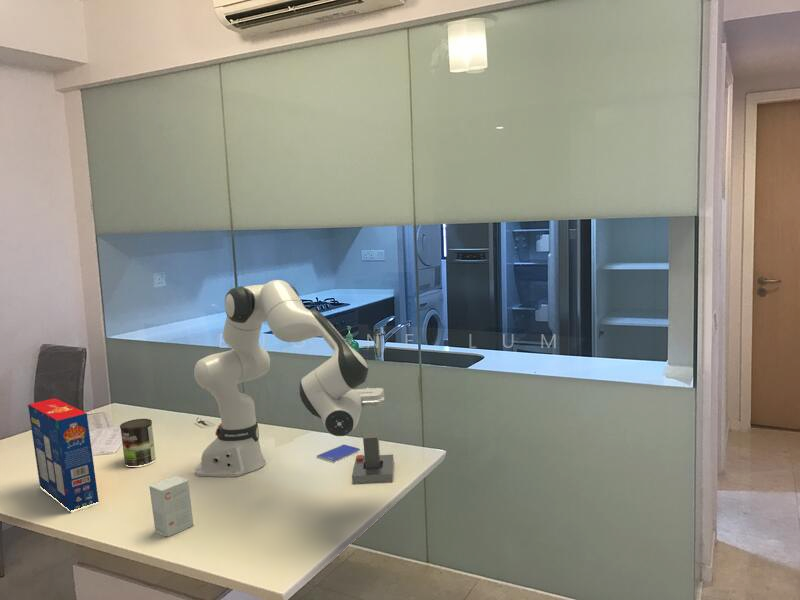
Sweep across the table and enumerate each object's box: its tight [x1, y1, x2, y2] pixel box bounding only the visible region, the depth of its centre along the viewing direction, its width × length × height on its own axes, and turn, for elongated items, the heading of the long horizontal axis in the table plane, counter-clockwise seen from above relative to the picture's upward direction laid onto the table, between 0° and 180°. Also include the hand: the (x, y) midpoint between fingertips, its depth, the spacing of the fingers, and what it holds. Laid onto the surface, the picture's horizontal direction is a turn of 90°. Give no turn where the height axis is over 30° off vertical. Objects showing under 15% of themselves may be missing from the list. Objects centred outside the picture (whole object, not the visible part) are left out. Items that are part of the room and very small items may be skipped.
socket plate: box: [351, 454, 395, 485], centre depth 211 cm, size 12×16×3 cm
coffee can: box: [119, 418, 157, 466], centre depth 234 cm, size 10×10×14 cm
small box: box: [149, 475, 194, 538], centre depth 181 cm, size 8×6×13 cm
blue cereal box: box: [27, 398, 100, 511], centre depth 207 cm, size 28×8×28 cm, turn 44°
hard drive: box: [316, 444, 361, 464], centre depth 229 cm, size 2×8×12 cm
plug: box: [362, 432, 381, 469], centre depth 211 cm, size 4×4×12 cm
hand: (350, 391), depth 196 cm, fingers open, 8 cm apart
